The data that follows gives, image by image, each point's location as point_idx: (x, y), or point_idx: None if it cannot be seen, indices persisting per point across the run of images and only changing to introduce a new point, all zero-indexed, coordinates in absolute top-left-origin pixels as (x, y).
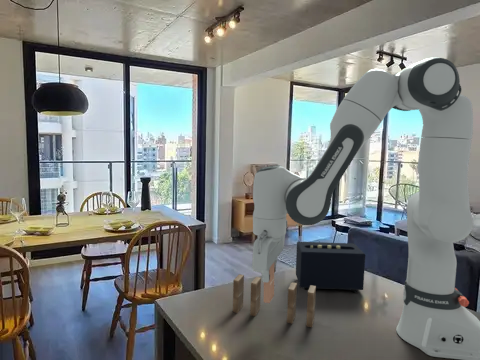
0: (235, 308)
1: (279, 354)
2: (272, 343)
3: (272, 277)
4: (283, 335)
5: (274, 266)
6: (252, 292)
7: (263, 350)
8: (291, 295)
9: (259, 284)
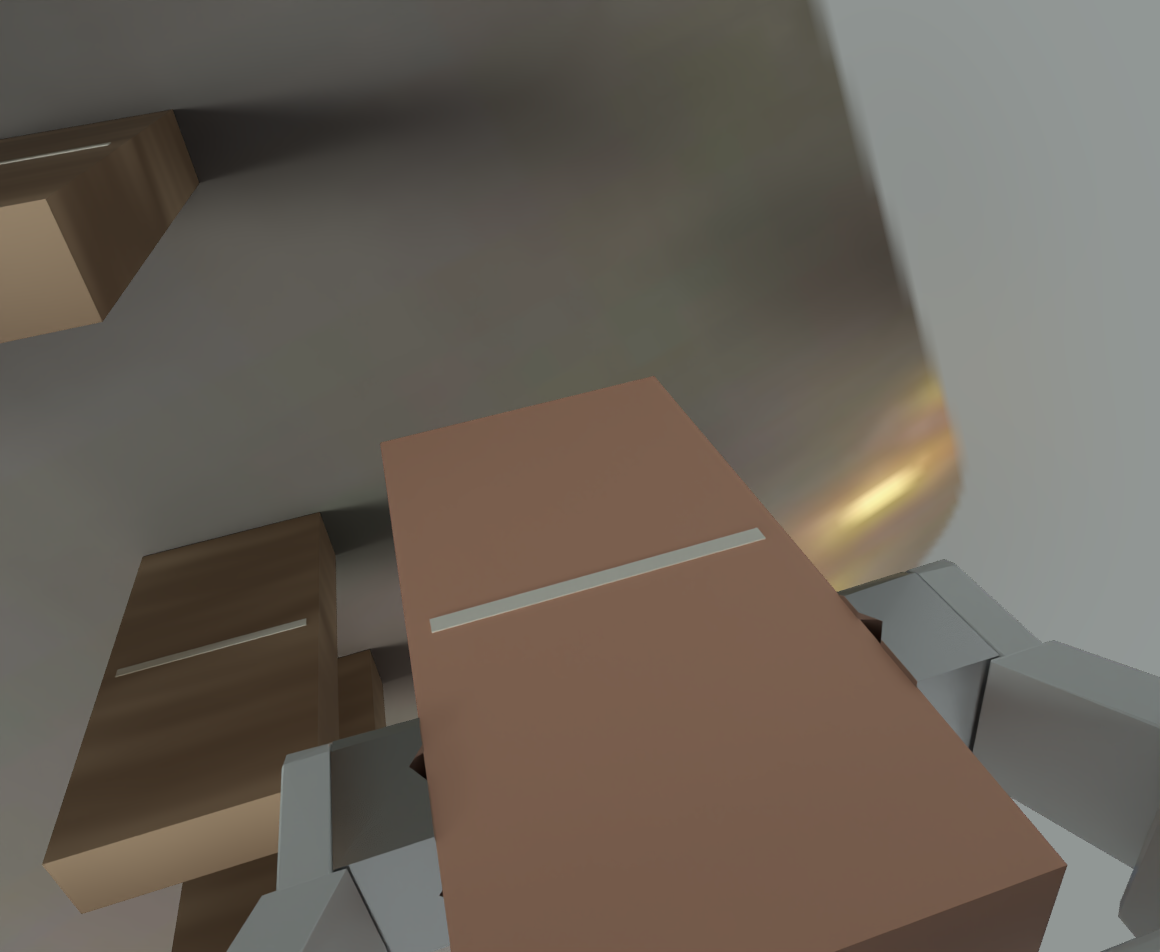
0: (376, 693)
1: (804, 8)
2: (669, 148)
3: (575, 639)
4: (482, 106)
5: (350, 887)
6: (332, 713)
7: (798, 174)
8: (101, 216)
9: (143, 771)
